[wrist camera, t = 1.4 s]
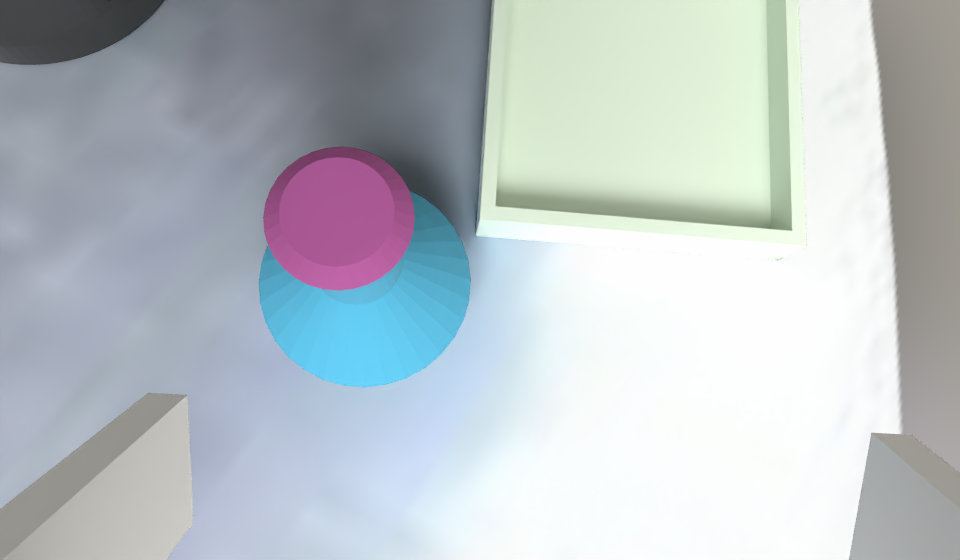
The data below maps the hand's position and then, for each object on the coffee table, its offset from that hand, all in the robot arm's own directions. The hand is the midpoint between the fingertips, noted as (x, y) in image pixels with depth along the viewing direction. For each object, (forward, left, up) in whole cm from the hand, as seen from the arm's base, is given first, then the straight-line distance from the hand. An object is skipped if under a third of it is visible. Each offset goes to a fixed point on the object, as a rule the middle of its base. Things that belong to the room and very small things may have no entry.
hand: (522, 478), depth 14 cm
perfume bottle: (-8, -2, -22) cm, 24 cm away
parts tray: (-17, +15, -22) cm, 32 cm away
